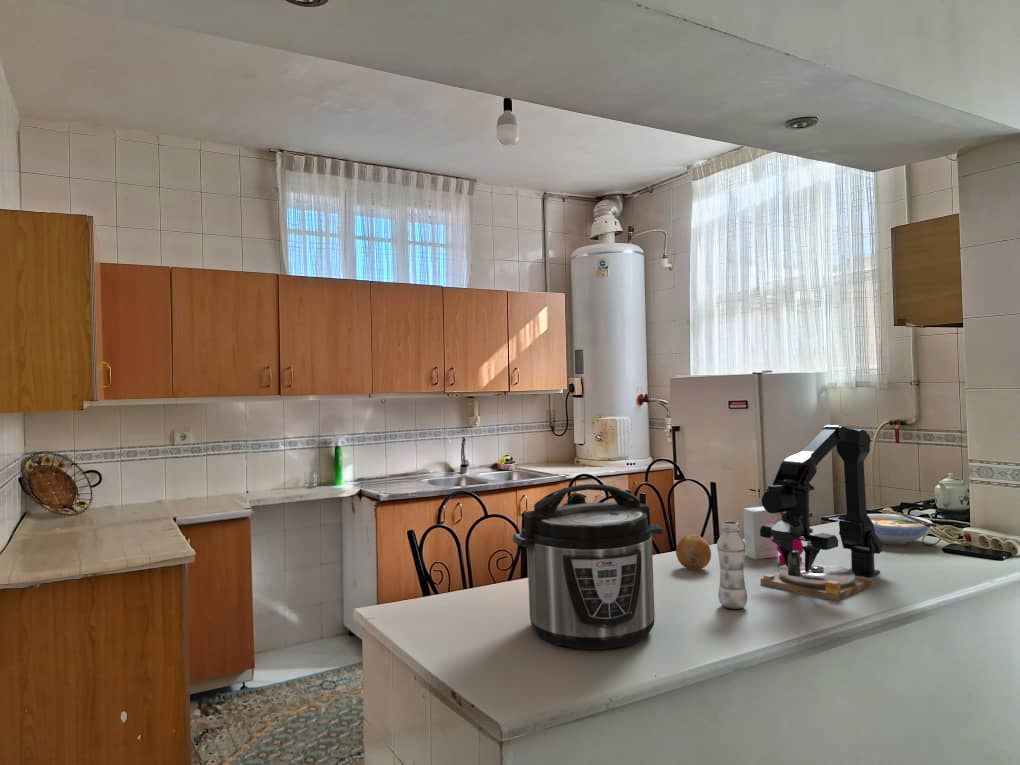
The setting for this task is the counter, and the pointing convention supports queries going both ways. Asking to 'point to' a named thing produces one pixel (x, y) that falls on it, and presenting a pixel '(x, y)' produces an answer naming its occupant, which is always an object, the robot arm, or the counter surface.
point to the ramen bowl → (899, 527)
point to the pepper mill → (796, 546)
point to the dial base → (830, 592)
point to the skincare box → (758, 533)
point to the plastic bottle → (731, 567)
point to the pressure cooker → (590, 568)
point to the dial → (814, 573)
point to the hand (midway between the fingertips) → (797, 569)
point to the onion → (693, 552)
